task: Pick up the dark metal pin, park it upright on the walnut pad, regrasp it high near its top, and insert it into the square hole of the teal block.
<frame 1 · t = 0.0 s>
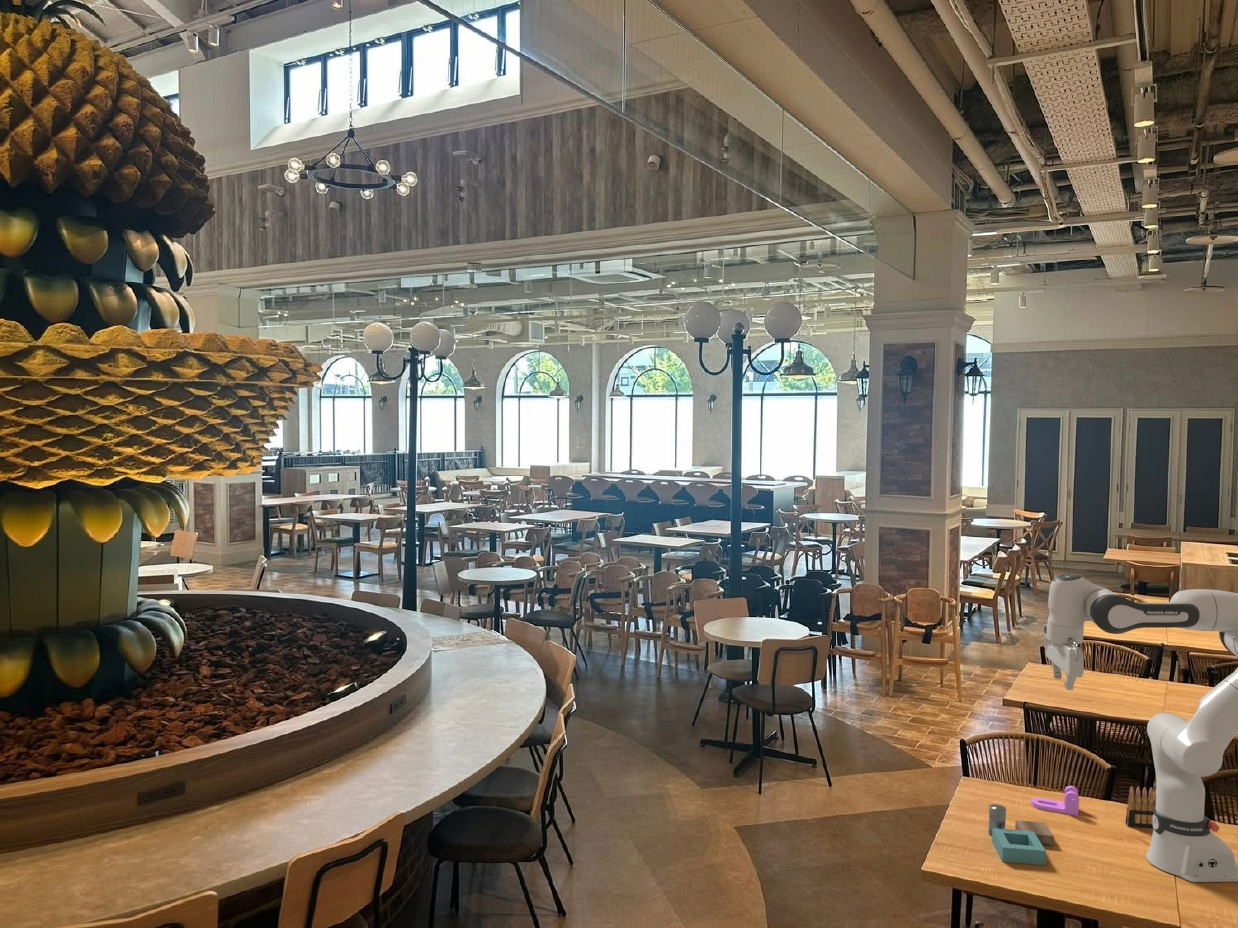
hand: (1062, 683, 240), 48 cm above the table, fingers open, 8 cm apart
hole block: (1017, 853, 244), on the table
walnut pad: (1033, 837, 252), on the table
bracket: (1054, 809, 272), on the table
metal pin: (996, 834, 255), on the table
ammunition clip: (1145, 827, 260), on the table
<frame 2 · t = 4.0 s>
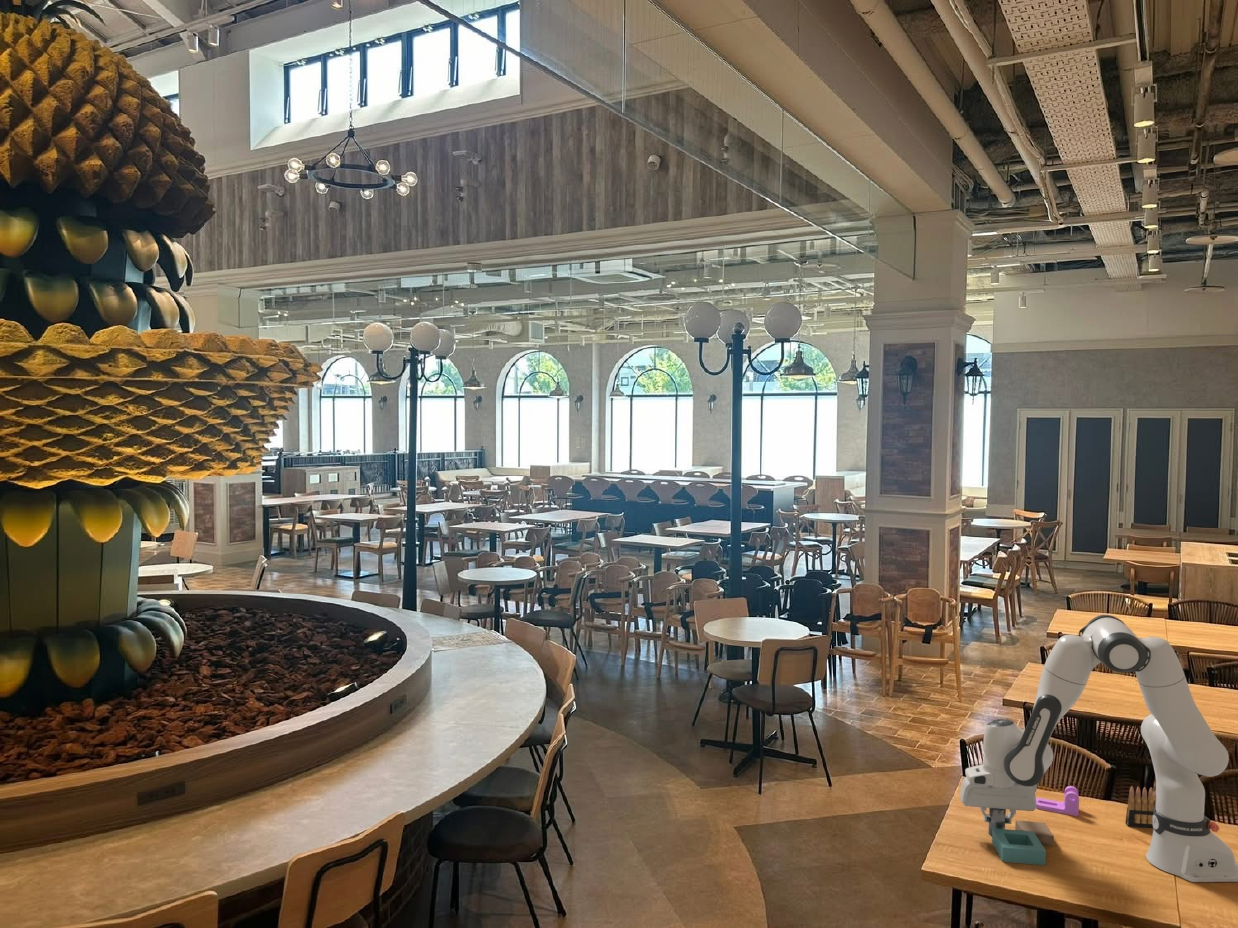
hand: (997, 821, 254), 4 cm above the table, fingers closed on metal pin, 4 cm apart
metal pin: (996, 834, 255), on the table, touching gripper
everything else where it was.
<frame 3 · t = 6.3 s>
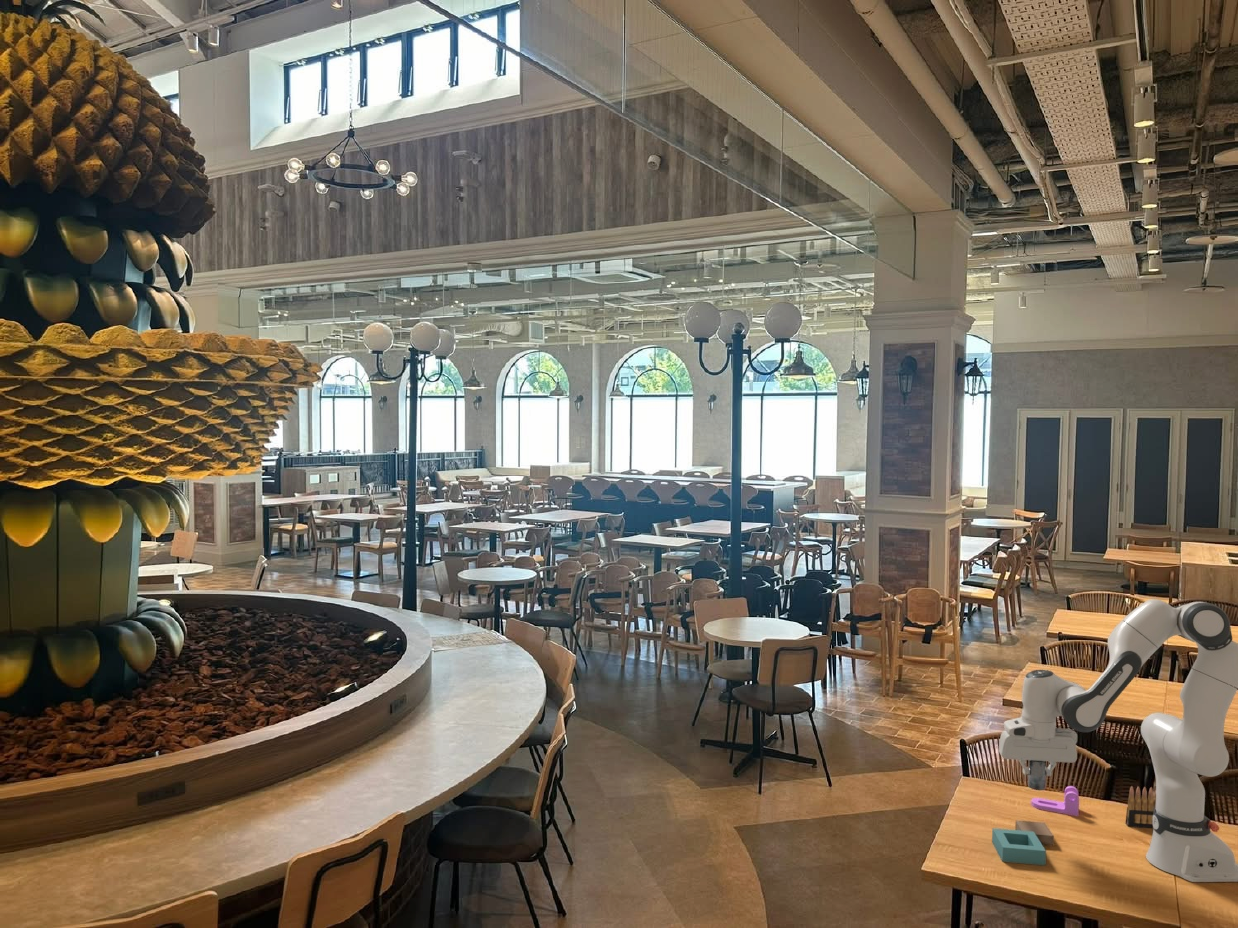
hand: (1037, 774, 251), 19 cm above the table, fingers closed on metal pin, 4 cm apart
metal pin: (1036, 786, 251), point 15 cm above the table, touching gripper
everything else where it was.
when the fingers open (8 cm above the table, at t = 8.7 s): metal pin drops 1 cm, resting on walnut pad.
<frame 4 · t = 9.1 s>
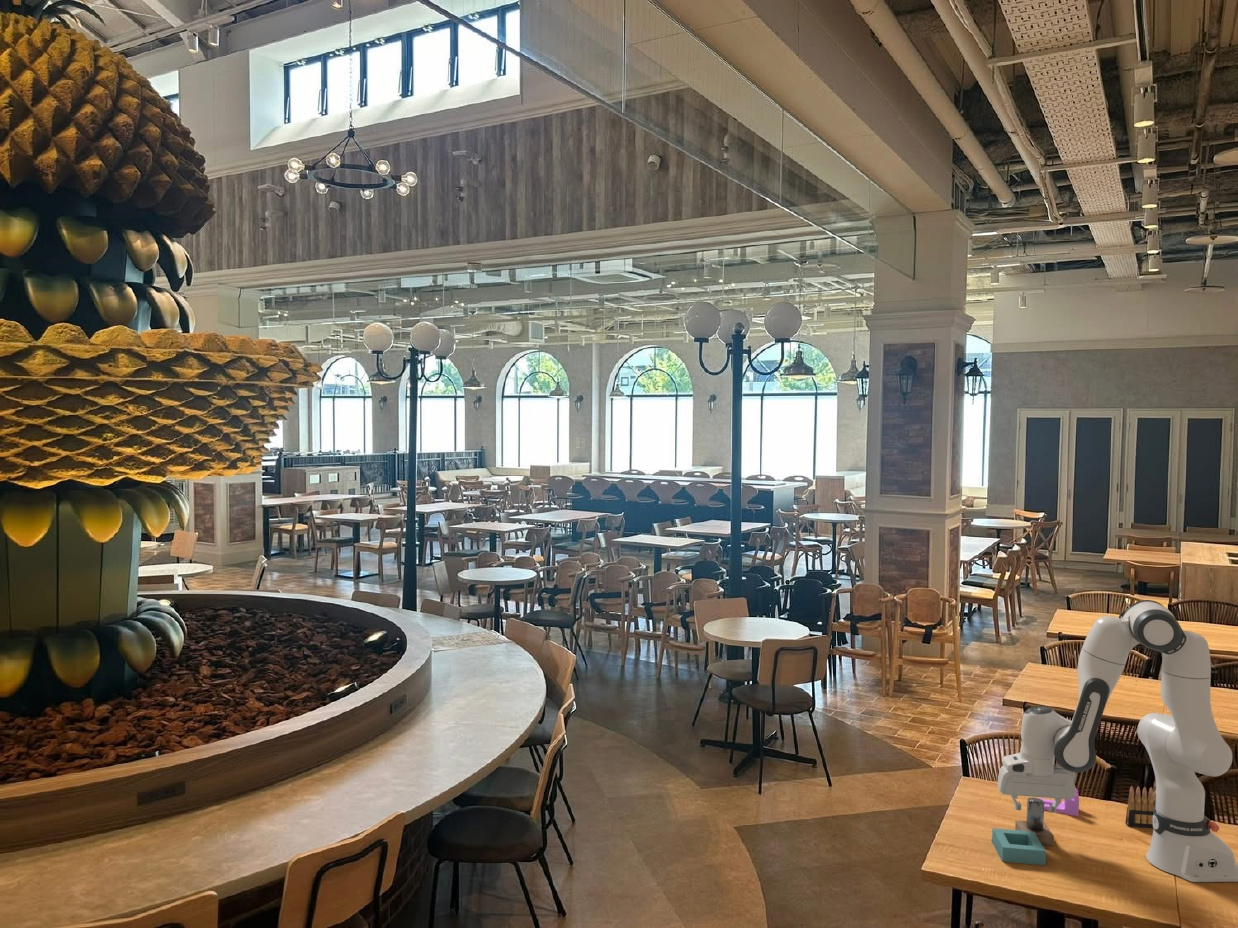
hand: (1035, 810, 252), 8 cm above the table, fingers open, 8 cm apart
metal pin: (1034, 827, 252), point 3 cm above the table, touching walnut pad
everything else where it was.
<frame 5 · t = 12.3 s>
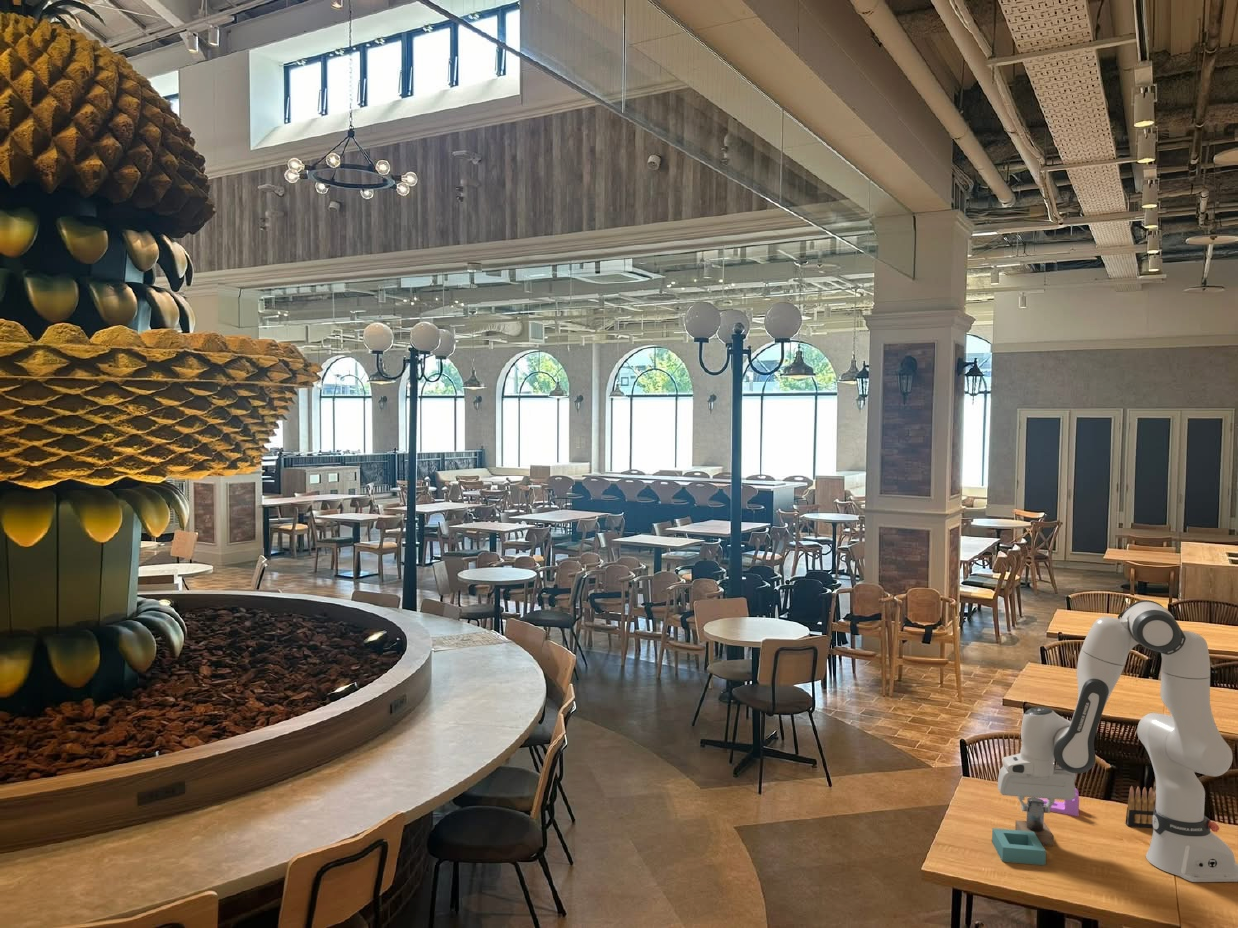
hand: (1035, 811, 252), 8 cm above the table, fingers closed on metal pin, 4 cm apart
metal pin: (1034, 827, 252), point 3 cm above the table, touching gripper, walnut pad
everything else where it was.
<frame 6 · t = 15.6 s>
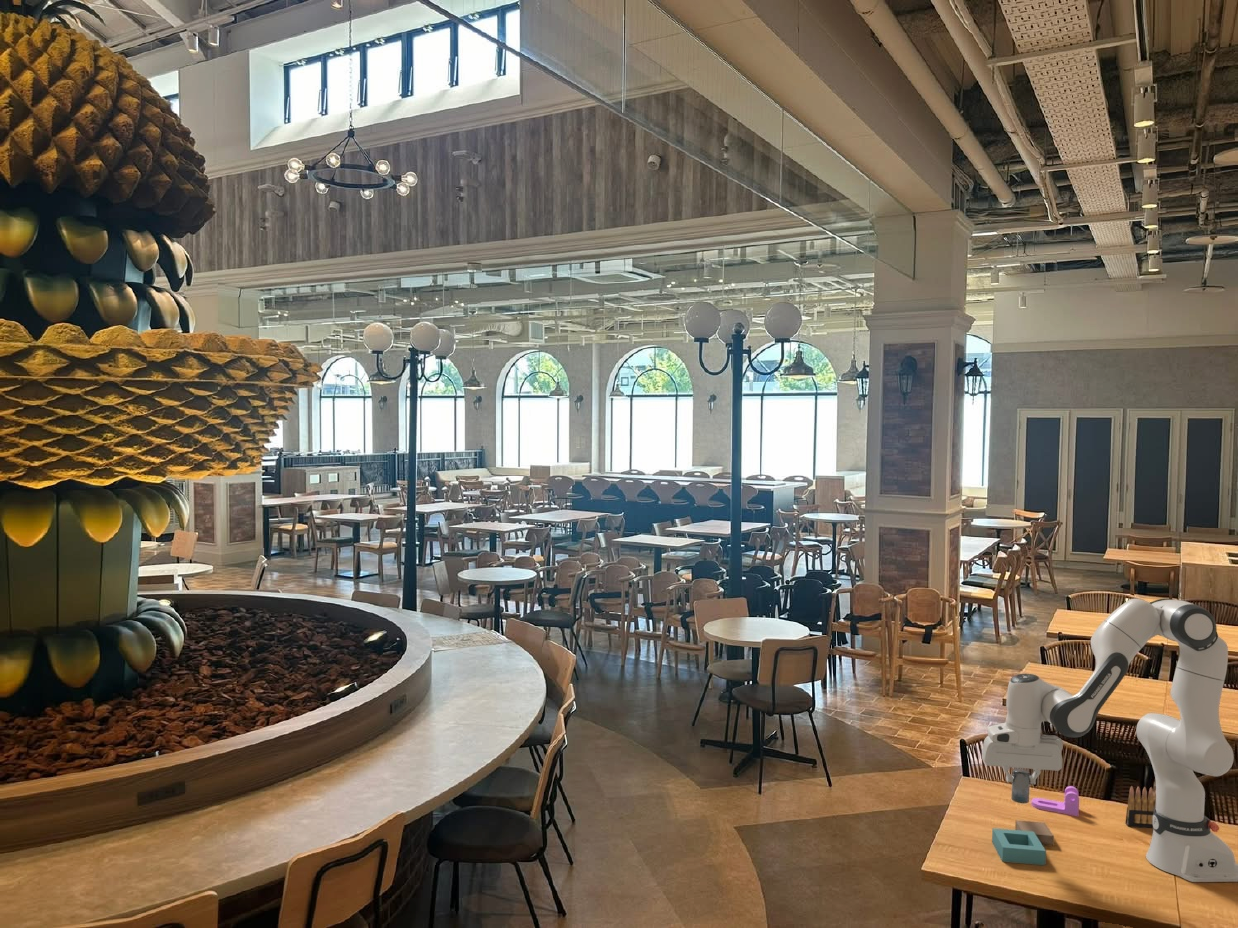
hand: (1020, 782, 242), 20 cm above the table, fingers closed on metal pin, 4 cm apart
metal pin: (1020, 799, 243), point 15 cm above the table, touching gripper
everything else where it was.
when the fingers open (7 cm above the table, at t = 18.9 s): metal pin drops 2 cm, resting in hole block.
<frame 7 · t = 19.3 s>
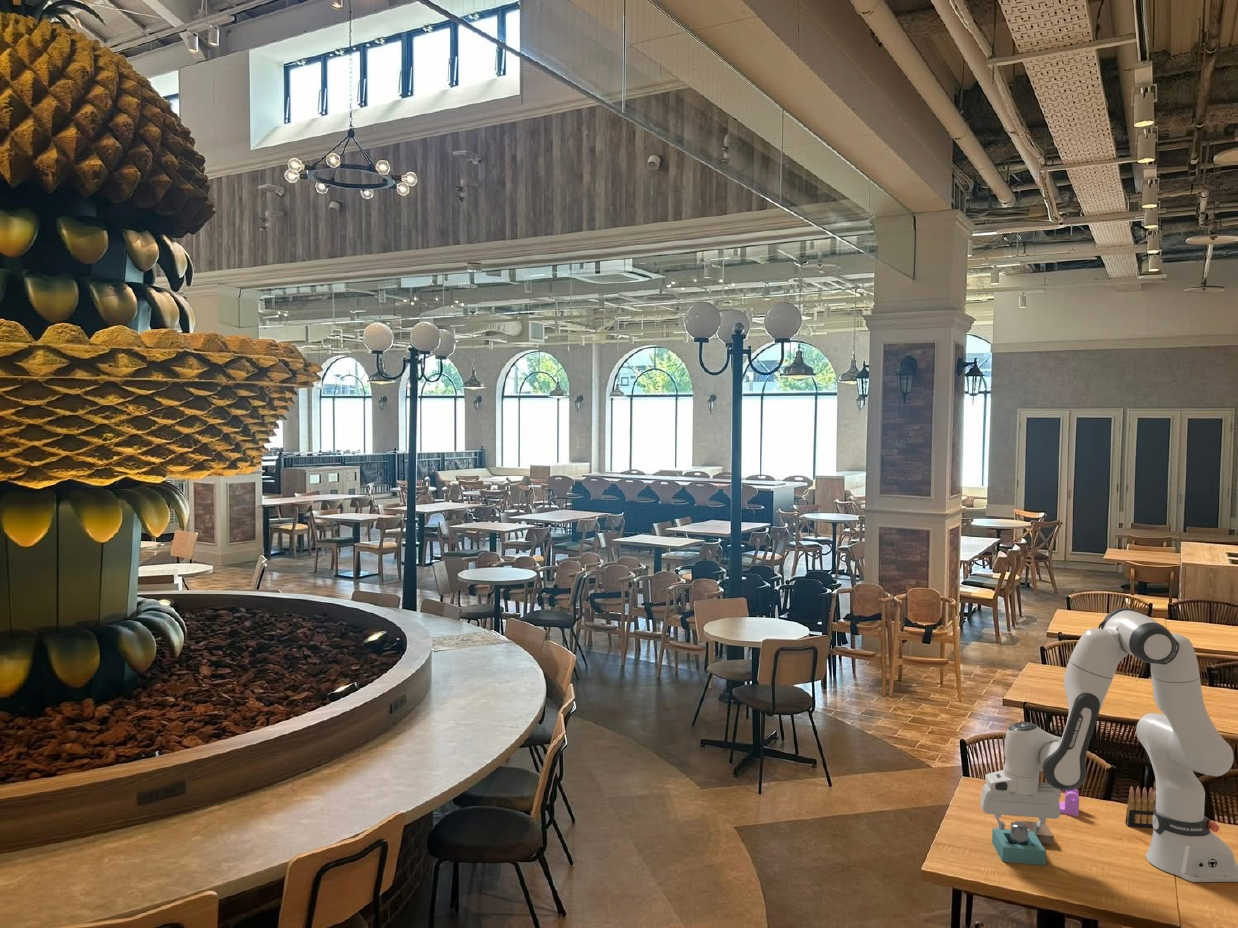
hand: (1019, 830, 243), 7 cm above the table, fingers open, 8 cm apart
metal pin: (1018, 853, 244), resting in hole block
everything else where it was.
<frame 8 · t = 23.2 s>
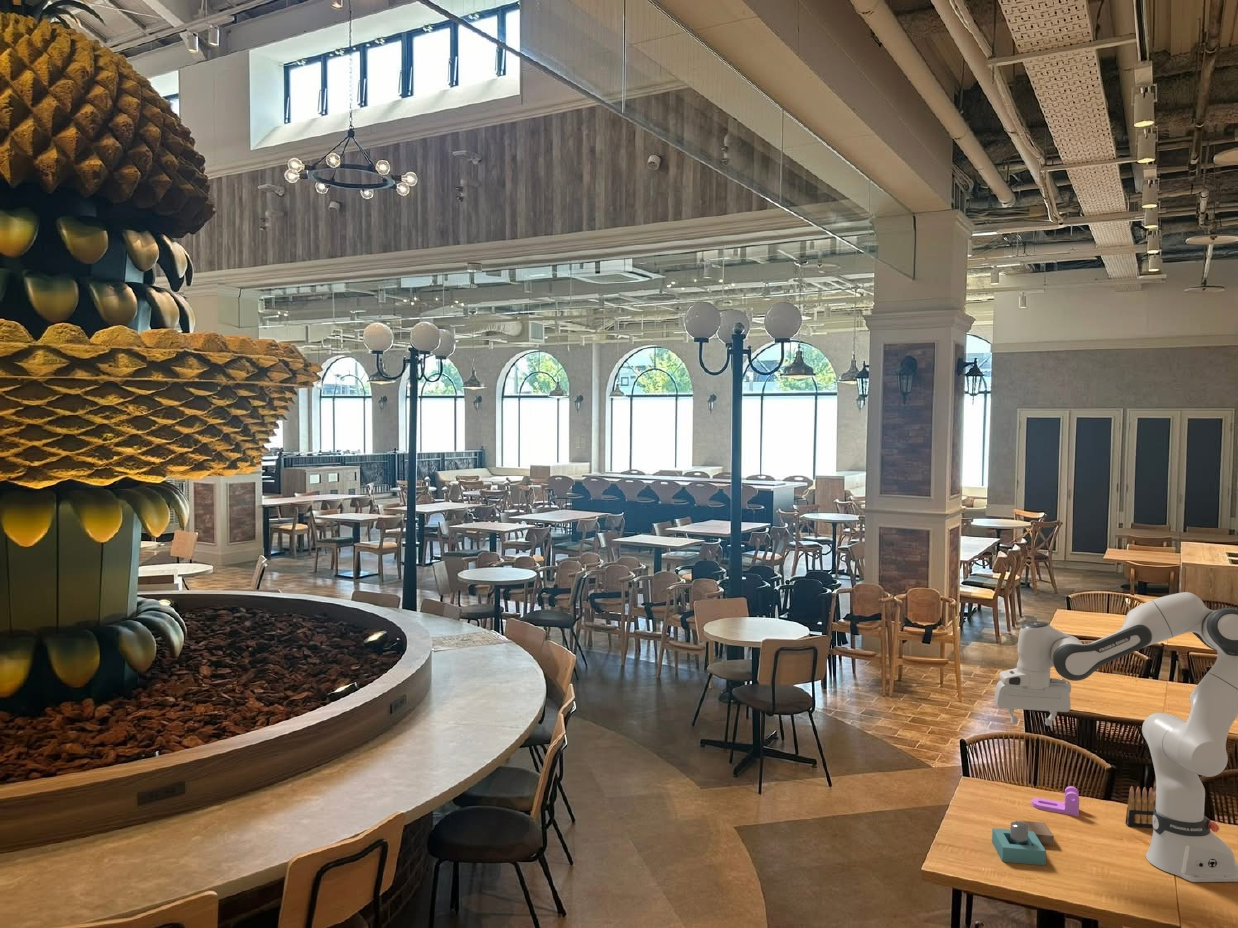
hand: (1031, 723, 257), 31 cm above the table, fingers open, 8 cm apart
nothing on the table moved.
at the end: metal pin 0.1 cm off-centre on the hole block, point 0.0 cm above the hole block's base; metal pin tilted 0°; the gripper is holding nothing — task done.
